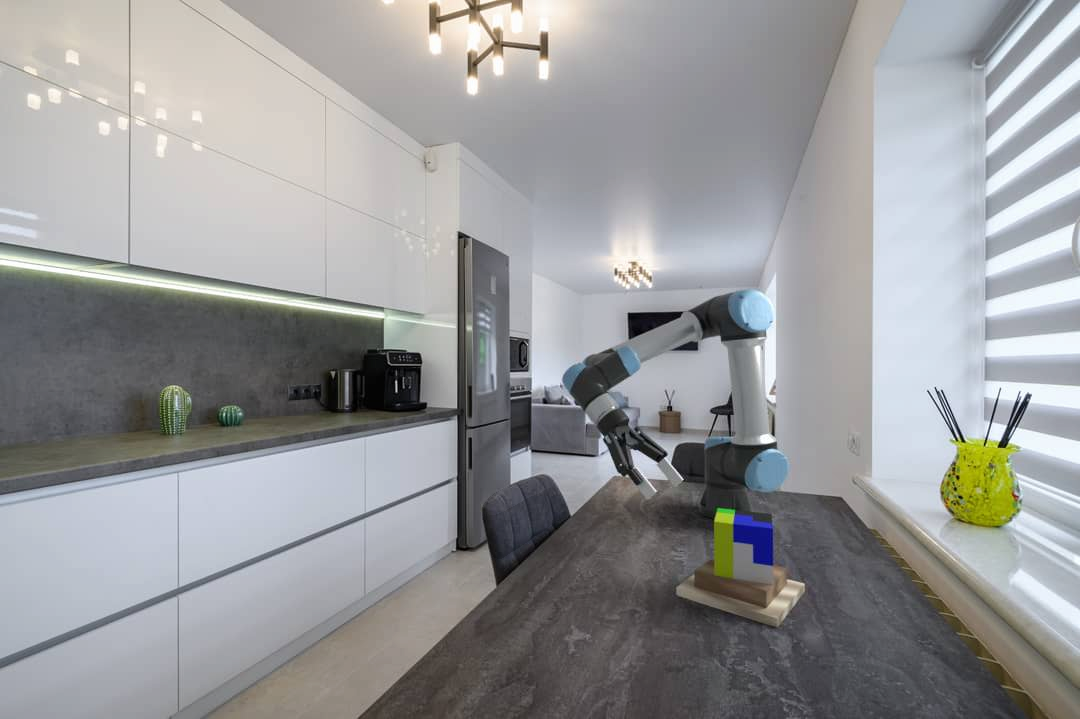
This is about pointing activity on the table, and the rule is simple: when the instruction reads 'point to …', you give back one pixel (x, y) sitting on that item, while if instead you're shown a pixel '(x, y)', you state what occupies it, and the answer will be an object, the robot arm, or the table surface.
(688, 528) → the table surface
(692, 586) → the build plinth
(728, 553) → the puzzle toy
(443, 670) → the table surface
